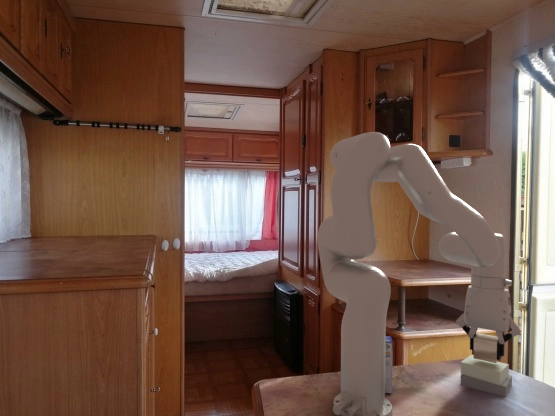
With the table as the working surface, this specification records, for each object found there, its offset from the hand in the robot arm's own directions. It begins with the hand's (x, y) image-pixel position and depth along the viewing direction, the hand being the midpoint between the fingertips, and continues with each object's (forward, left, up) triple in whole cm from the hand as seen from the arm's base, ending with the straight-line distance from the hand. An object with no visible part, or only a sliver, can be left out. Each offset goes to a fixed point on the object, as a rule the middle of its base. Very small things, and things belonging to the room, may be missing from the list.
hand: (486, 355), depth 102 cm
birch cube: (0, 0, -1) cm, 1 cm away
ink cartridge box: (-19, +22, -8) cm, 30 cm away
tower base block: (0, 0, -8) cm, 8 cm away
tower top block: (0, 0, -5) cm, 5 cm away
